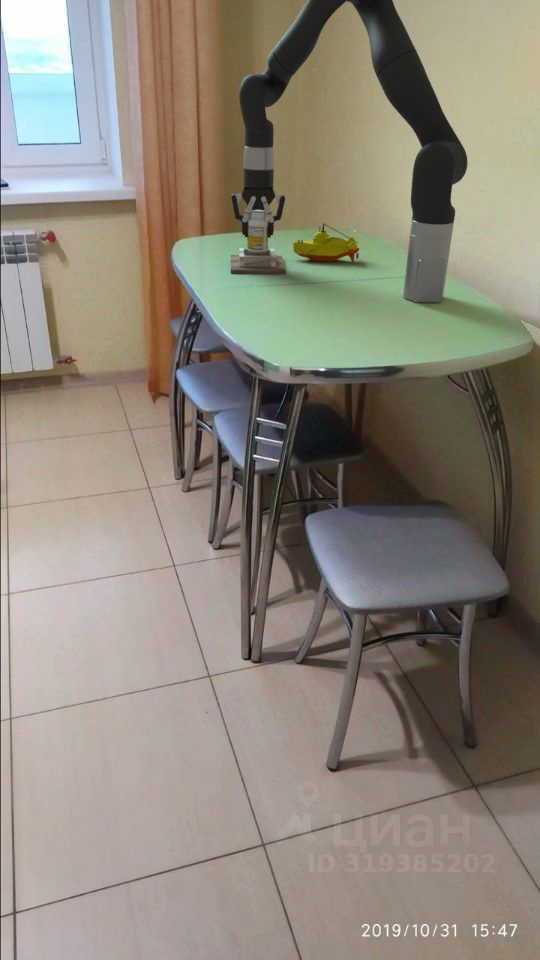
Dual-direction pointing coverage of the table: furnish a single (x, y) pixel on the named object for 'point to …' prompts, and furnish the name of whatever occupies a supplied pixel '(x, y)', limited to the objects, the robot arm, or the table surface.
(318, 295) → the table surface
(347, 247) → the toy boat
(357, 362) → the table surface
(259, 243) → the supplement bottle
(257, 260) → the jig board
